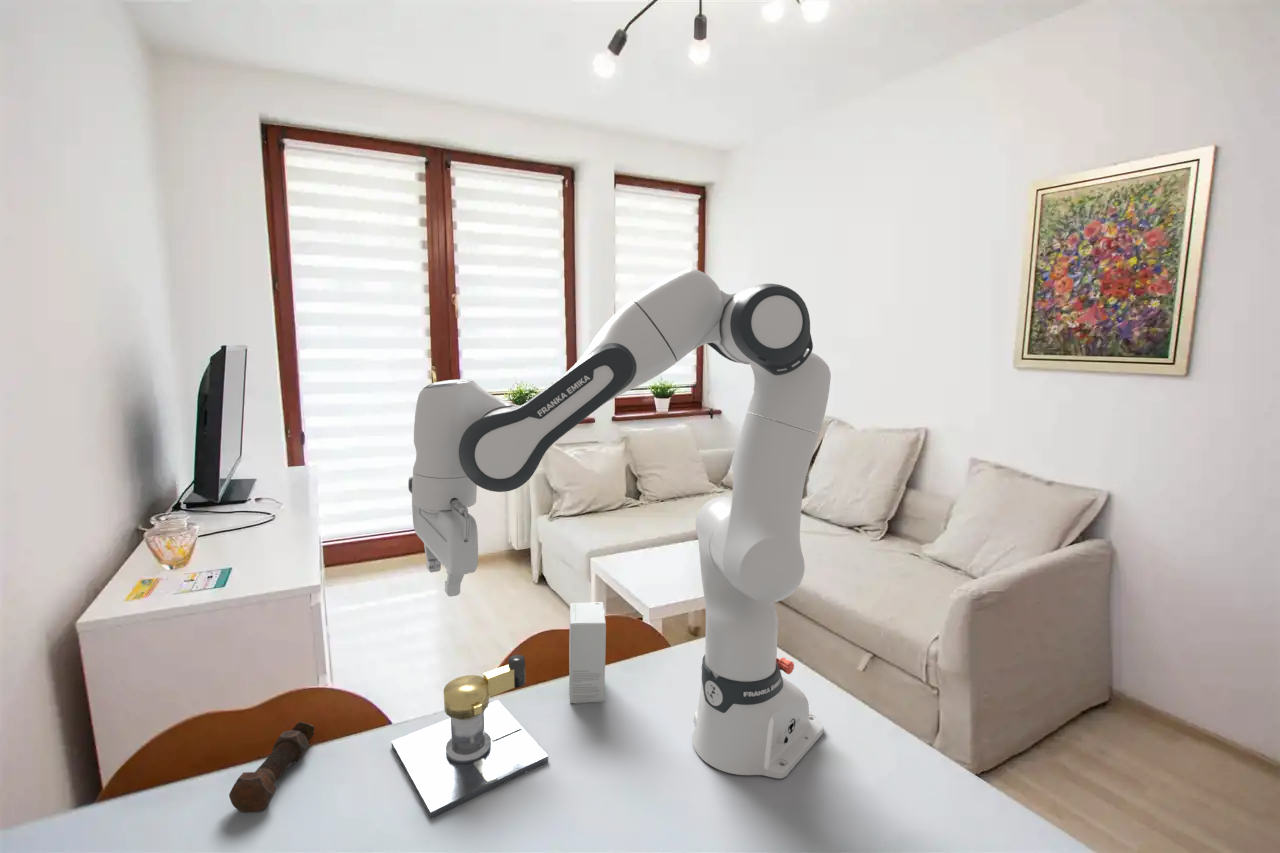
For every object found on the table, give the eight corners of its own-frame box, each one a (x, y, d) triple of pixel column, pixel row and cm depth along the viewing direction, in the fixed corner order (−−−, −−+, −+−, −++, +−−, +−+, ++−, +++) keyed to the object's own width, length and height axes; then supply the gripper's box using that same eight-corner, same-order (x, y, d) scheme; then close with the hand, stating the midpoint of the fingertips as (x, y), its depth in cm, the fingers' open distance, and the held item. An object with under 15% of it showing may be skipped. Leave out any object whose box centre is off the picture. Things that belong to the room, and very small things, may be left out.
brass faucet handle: (456, 728, 87) (455, 698, 86) (435, 699, 93) (434, 671, 93) (537, 695, 95) (537, 668, 94) (512, 671, 101) (511, 645, 101)
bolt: (312, 750, 97) (256, 822, 82) (283, 736, 96) (222, 806, 81) (328, 721, 96) (275, 787, 81) (299, 706, 96) (241, 771, 81)
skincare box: (569, 679, 114) (568, 601, 112) (604, 677, 115) (604, 600, 112) (569, 705, 106) (568, 622, 103) (606, 703, 106) (606, 621, 104)
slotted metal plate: (497, 705, 106) (496, 662, 105) (548, 761, 92) (547, 713, 91) (391, 747, 95) (389, 700, 94) (431, 818, 81) (428, 764, 80)
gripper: (492, 508, 80) (488, 606, 82) (446, 474, 96) (443, 556, 98) (444, 512, 76) (441, 615, 78) (405, 476, 93) (403, 561, 95)
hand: (442, 581), depth 88 cm, fingers open, 8 cm apart
